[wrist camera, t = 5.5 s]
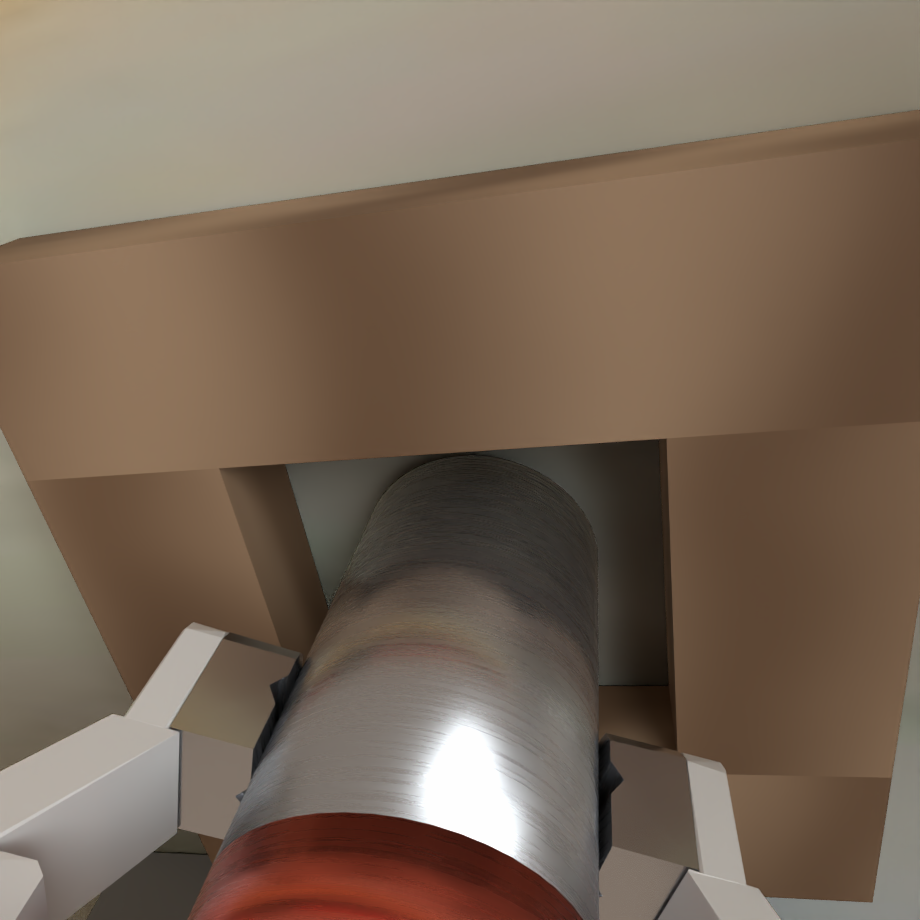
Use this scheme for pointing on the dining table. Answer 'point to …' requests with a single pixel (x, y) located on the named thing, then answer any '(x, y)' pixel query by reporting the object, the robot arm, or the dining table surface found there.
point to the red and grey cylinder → (437, 721)
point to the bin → (155, 889)
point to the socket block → (529, 424)
